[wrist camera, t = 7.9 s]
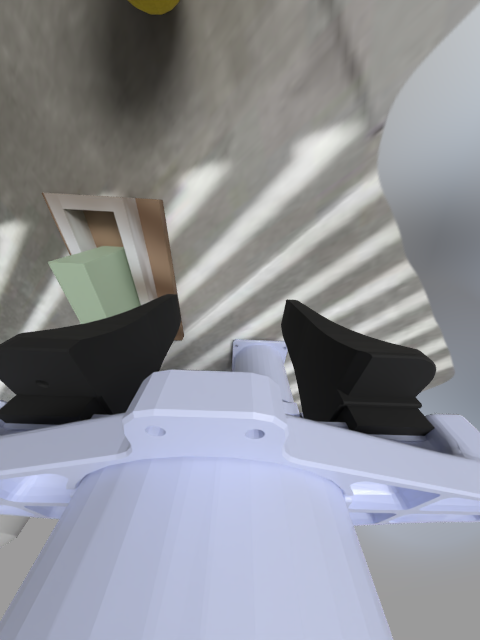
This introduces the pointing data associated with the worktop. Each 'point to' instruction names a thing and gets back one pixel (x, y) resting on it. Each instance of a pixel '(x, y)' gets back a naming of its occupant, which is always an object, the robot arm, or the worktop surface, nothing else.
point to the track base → (120, 236)
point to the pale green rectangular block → (97, 282)
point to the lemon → (154, 5)
